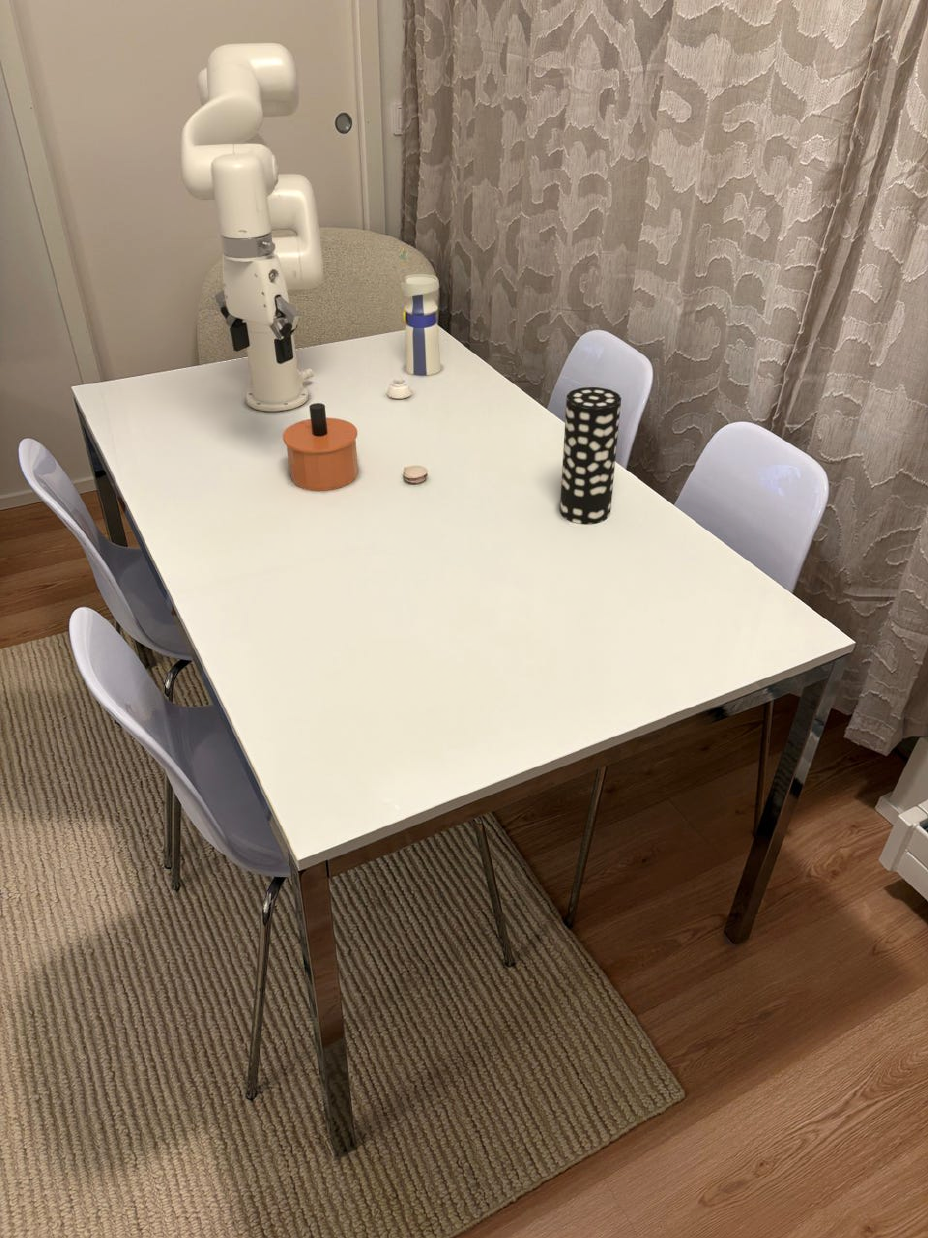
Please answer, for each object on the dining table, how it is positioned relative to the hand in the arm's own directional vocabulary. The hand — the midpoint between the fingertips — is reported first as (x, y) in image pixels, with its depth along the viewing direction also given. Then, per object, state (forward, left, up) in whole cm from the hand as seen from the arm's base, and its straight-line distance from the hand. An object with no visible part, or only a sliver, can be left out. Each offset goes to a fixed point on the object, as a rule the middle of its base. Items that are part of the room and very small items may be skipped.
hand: (263, 354), depth 152 cm
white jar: (-40, -3, -23) cm, 46 cm away
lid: (-5, +6, -15) cm, 17 cm away
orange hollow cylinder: (-5, +6, -23) cm, 24 cm away
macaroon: (-12, +20, -23) cm, 33 cm away
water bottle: (-54, -7, -23) cm, 59 cm away
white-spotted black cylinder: (-18, +51, -23) cm, 58 cm away
